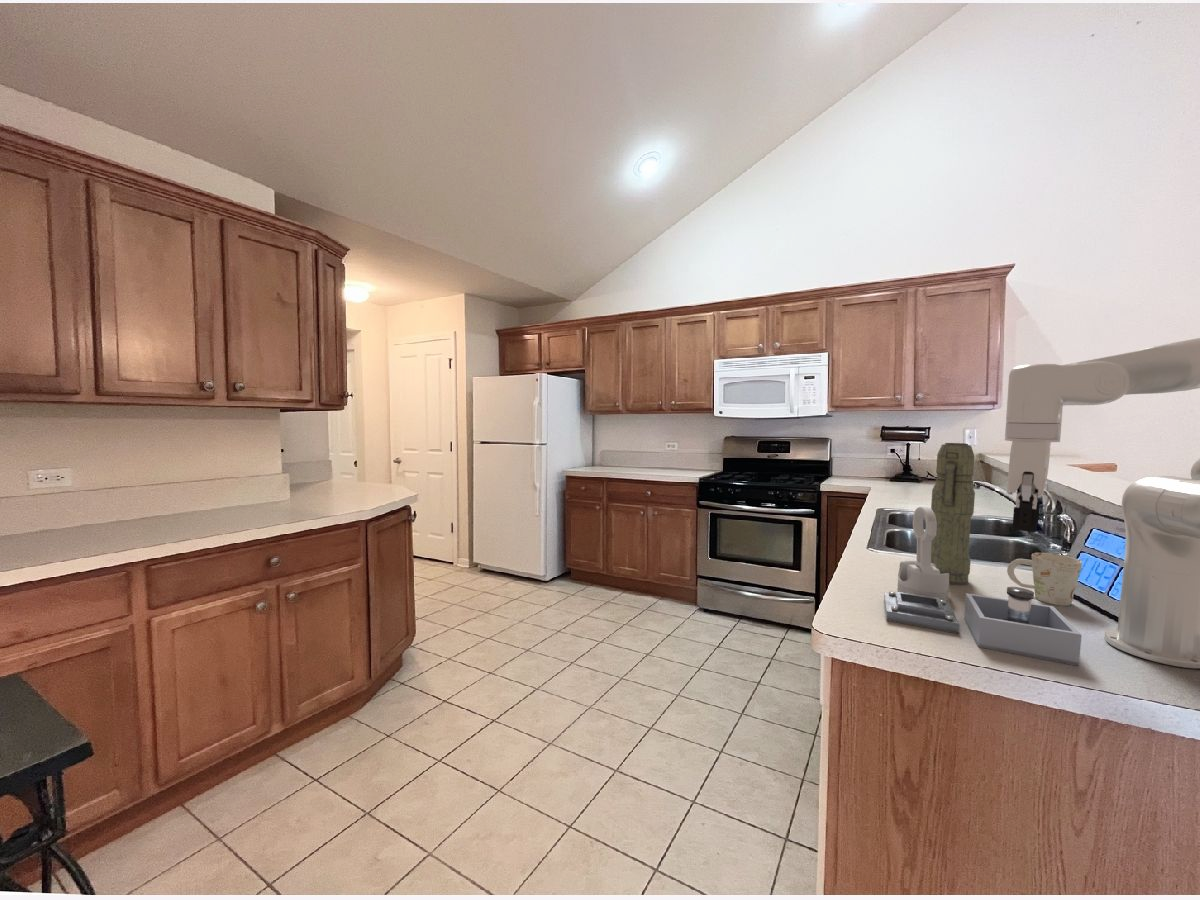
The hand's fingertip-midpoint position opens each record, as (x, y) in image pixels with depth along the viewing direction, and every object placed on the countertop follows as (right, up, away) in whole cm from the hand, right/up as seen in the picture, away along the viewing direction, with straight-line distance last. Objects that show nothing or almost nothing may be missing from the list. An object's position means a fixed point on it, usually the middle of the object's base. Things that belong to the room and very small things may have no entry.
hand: (1025, 525), depth 89 cm
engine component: (-2, -20, +25) cm, 33 cm away
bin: (0, -22, +2) cm, 22 cm away
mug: (+24, -21, +23) cm, 39 cm away
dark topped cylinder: (0, -21, +2) cm, 21 cm away
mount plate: (-12, -21, +12) cm, 27 cm away
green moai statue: (+11, -19, +35) cm, 42 cm away
